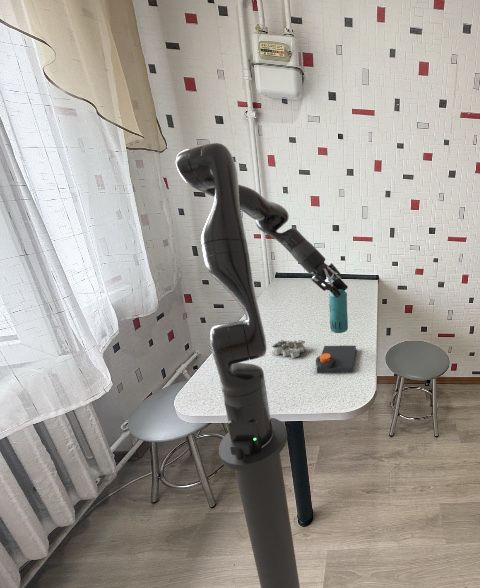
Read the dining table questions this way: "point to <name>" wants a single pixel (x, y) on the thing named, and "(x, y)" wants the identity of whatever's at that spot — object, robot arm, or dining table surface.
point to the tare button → (325, 358)
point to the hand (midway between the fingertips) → (342, 292)
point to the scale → (337, 359)
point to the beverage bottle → (338, 309)
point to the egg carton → (289, 348)
